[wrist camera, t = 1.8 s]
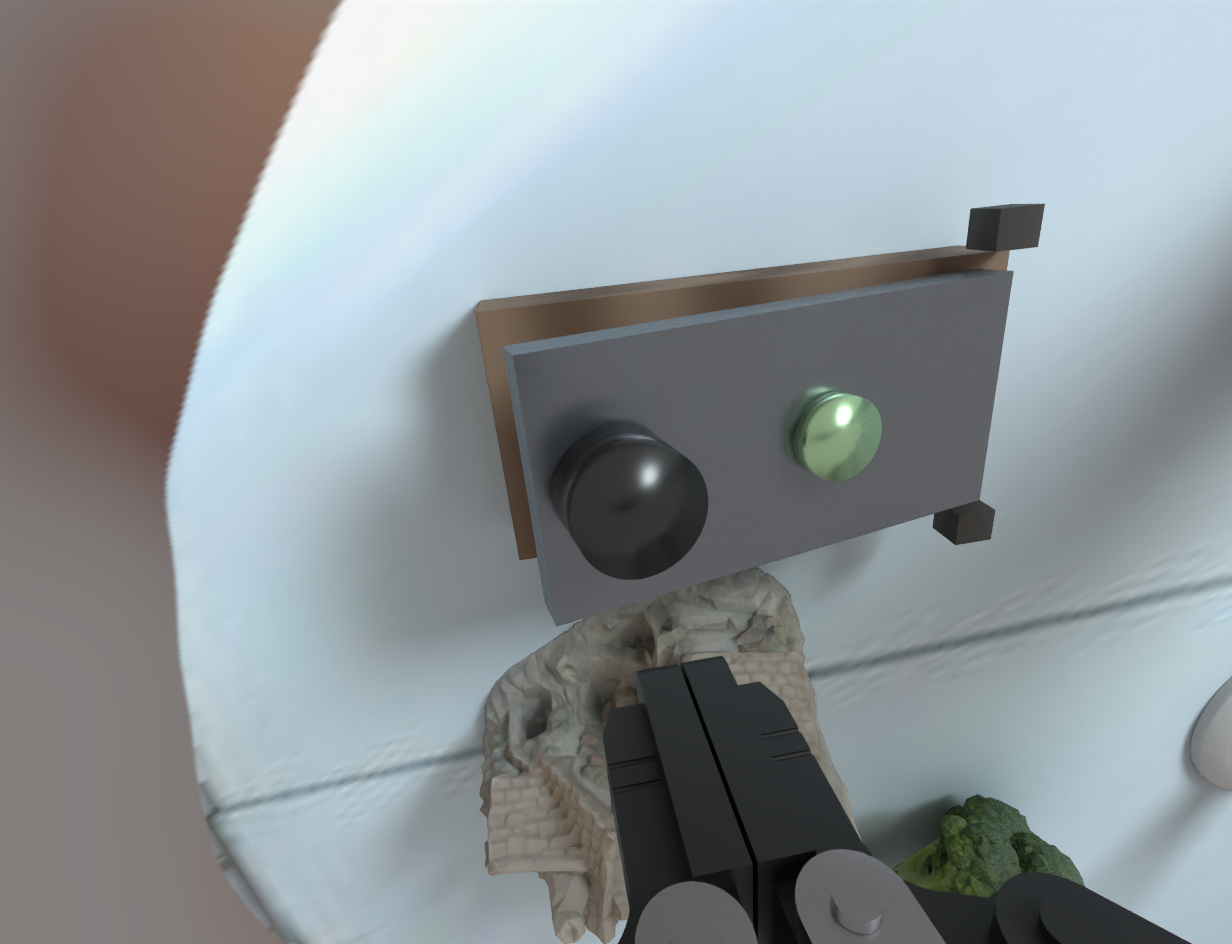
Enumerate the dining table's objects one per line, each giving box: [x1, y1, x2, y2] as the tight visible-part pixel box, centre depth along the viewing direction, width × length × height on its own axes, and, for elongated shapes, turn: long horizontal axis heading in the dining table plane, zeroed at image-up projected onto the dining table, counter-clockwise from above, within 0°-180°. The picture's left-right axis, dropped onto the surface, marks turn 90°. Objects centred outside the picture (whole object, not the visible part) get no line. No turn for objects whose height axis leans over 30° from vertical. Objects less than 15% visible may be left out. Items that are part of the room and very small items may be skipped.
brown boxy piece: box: [475, 204, 1045, 560], centre depth 25 cm, size 20×13×5 cm, turn 95°
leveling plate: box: [503, 268, 1013, 626], centre depth 21 cm, size 18×9×4 cm, turn 95°
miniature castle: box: [480, 567, 862, 944], centre depth 27 cm, size 16×16×15 cm
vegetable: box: [892, 794, 1085, 899], centre depth 37 cm, size 12×13×15 cm
